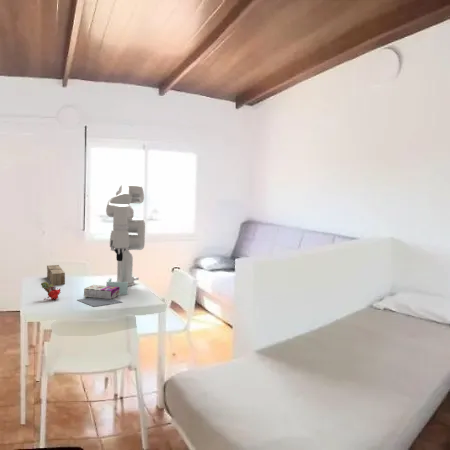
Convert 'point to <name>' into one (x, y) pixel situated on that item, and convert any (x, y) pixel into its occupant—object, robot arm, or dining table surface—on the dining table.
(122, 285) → the right angle wall
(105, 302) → the mat
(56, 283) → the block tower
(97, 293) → the candy bar box
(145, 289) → the dining table surface
